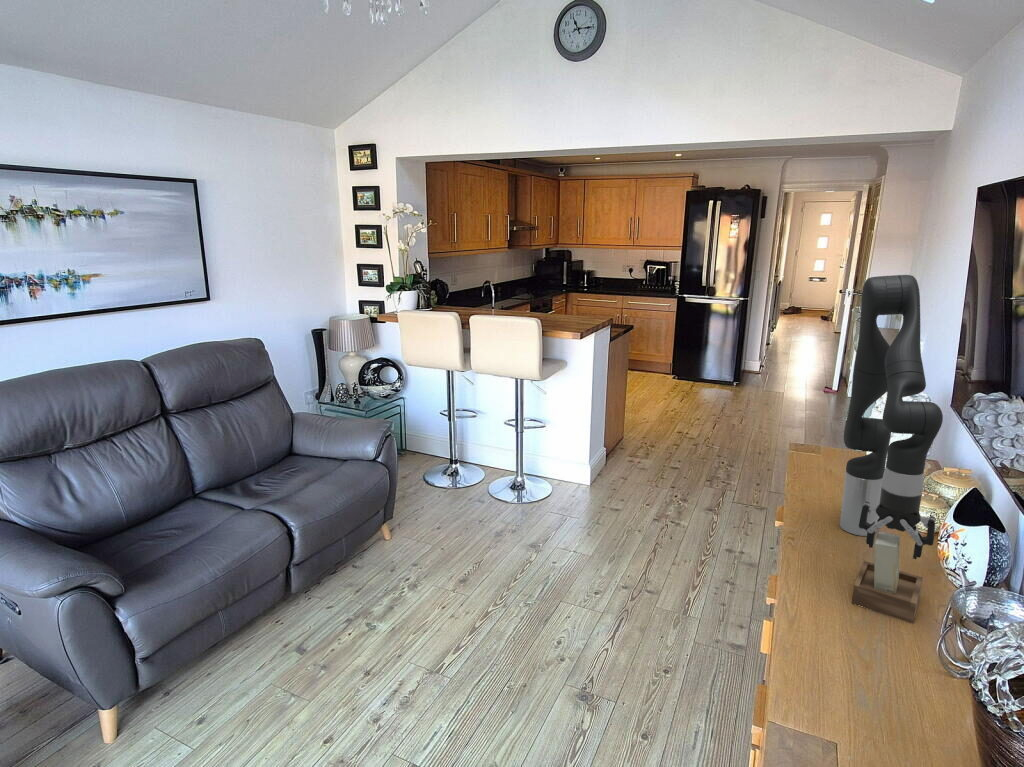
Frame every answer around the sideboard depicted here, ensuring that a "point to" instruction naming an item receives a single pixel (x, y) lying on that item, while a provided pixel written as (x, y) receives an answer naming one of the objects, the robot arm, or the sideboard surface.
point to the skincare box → (886, 562)
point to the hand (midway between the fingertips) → (892, 551)
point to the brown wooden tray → (888, 594)
